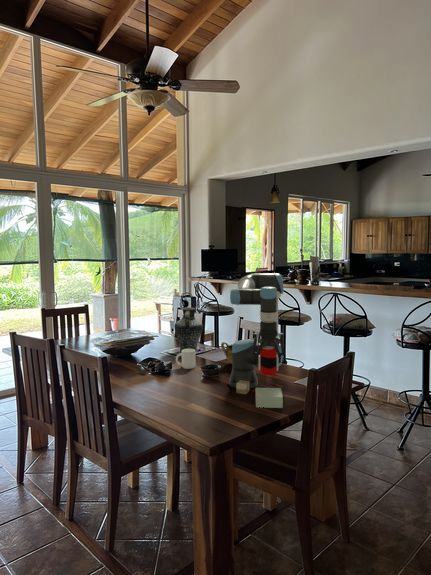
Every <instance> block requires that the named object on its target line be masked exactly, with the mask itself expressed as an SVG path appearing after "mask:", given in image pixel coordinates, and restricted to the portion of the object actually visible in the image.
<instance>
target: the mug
mask: <svg viewBox="0 0 431 575" xmlns="http://www.w3.org/2000/svg"><path fill="white" fill-rule="evenodd" d="M179 357H181V362H179ZM175 364H177V365H179V366H181V367H182V369H185V370H189V369H190V370H191V369H194V368H196V351H195V350H194V349H183V350H182V351H180V352H179V353H177V355H176V356H175Z"/></svg>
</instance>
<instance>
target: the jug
mask: <svg viewBox="0 0 431 575" xmlns="http://www.w3.org/2000/svg"><path fill="white" fill-rule="evenodd" d="M196 309H197V308H195V307H192V306H191V307H182V314H183V316H182V318H181V319H179V320H177V321H176V322H175V323H174V331H175V332H174V333H175V334H176V337H177V340H178V344H179V351H180V352H181V351H182V350H183V349H194V350H195V352H197V348H198V347H197V346H198V344H199V340H200V338H201V336H202V333H203V329H204V325H203V323H202V322H201V321H200V320H198V319H196V316H195V314H196Z"/></svg>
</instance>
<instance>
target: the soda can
mask: <svg viewBox="0 0 431 575" xmlns="http://www.w3.org/2000/svg"><path fill="white" fill-rule="evenodd" d="M277 372H278V371H277V351H276V349H275V348H274V347H271V346H265V347H262V349H261V351H260V370H259V373H260V374H261V375H262V376H275V375H277Z"/></svg>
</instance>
